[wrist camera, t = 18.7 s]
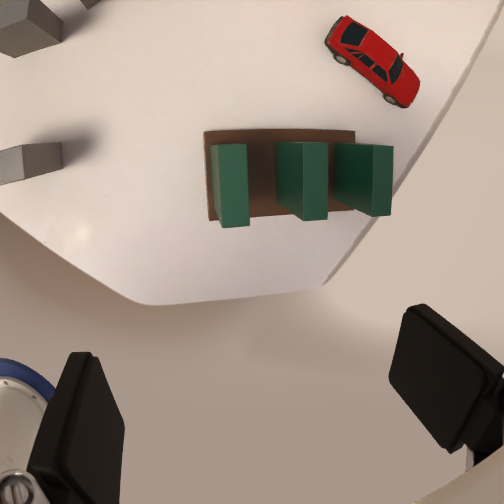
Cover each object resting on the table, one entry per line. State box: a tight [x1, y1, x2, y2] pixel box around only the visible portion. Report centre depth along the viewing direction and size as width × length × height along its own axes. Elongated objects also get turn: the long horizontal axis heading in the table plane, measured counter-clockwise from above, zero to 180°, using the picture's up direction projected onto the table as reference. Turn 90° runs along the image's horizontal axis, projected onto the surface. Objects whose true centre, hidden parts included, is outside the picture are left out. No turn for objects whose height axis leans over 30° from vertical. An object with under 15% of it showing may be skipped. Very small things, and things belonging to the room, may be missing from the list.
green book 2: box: [275, 142, 328, 221], centre depth 32 cm, size 2×7×9 cm, turn 2°
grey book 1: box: [0, 0, 63, 58], centre depth 20 cm, size 3×7×10 cm, turn 92°
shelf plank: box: [203, 129, 355, 221], centre depth 36 cm, size 10×18×2 cm, turn 92°
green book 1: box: [210, 144, 250, 228], centre depth 30 cm, size 2×7×9 cm, turn 2°
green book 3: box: [333, 142, 393, 217], centre depth 33 cm, size 2×7×9 cm, turn 2°
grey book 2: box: [0, 143, 63, 185], centre depth 26 cm, size 3×7×10 cm, turn 92°
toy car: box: [325, 15, 420, 108], centre depth 32 cm, size 6×14×5 cm, turn 60°
